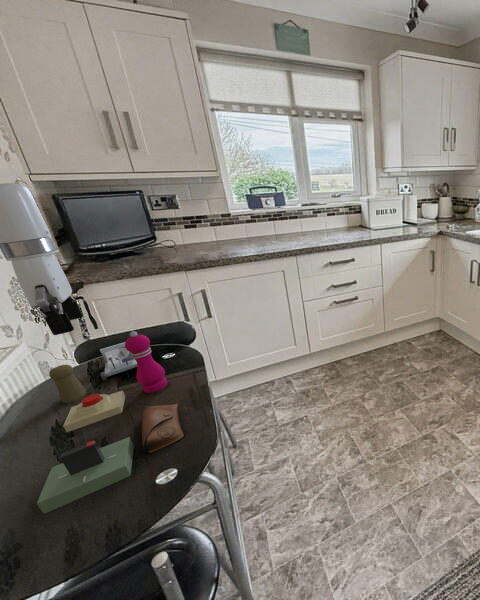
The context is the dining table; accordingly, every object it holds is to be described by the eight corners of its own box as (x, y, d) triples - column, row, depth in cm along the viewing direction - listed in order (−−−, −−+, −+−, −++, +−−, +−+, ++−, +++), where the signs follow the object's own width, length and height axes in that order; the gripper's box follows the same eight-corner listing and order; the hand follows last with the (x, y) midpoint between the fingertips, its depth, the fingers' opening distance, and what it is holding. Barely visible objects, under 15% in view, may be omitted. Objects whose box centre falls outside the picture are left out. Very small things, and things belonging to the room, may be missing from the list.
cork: (59, 399, 104) (43, 369, 100) (84, 388, 108) (69, 360, 104) (64, 405, 100) (47, 374, 96) (89, 394, 105) (74, 364, 101)
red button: (82, 409, 91) (79, 404, 90) (85, 402, 94) (82, 397, 94) (100, 403, 93) (98, 398, 92) (103, 396, 96) (100, 391, 96)
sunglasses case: (186, 435, 82) (162, 423, 78) (162, 459, 80) (136, 449, 76) (178, 402, 95) (157, 391, 91) (158, 422, 93) (136, 411, 89)
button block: (66, 432, 88) (59, 420, 86) (74, 413, 96) (68, 402, 94) (122, 412, 94) (116, 401, 93) (125, 396, 102) (120, 385, 100)
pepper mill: (145, 397, 100) (119, 339, 93) (140, 388, 105) (115, 333, 98) (171, 385, 105) (149, 329, 98) (166, 377, 110) (144, 324, 103)
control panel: (43, 514, 65) (36, 503, 64) (58, 477, 74) (51, 466, 72) (130, 475, 72) (125, 465, 71) (134, 446, 81) (129, 436, 80)
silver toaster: (134, 346, 112) (90, 360, 105) (145, 371, 116) (103, 385, 109) (133, 331, 125) (94, 342, 119) (142, 353, 129) (105, 365, 122)
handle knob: (70, 475, 70) (59, 457, 68) (72, 470, 71) (61, 452, 69) (103, 462, 73) (93, 443, 71) (104, 457, 74) (94, 439, 72)
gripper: (18, 247, 70) (56, 319, 76) (-16, 259, 57) (33, 345, 63) (65, 241, 74) (97, 310, 80) (43, 250, 61) (84, 332, 67)
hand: (69, 325), depth 72 cm, fingers open, 9 cm apart
